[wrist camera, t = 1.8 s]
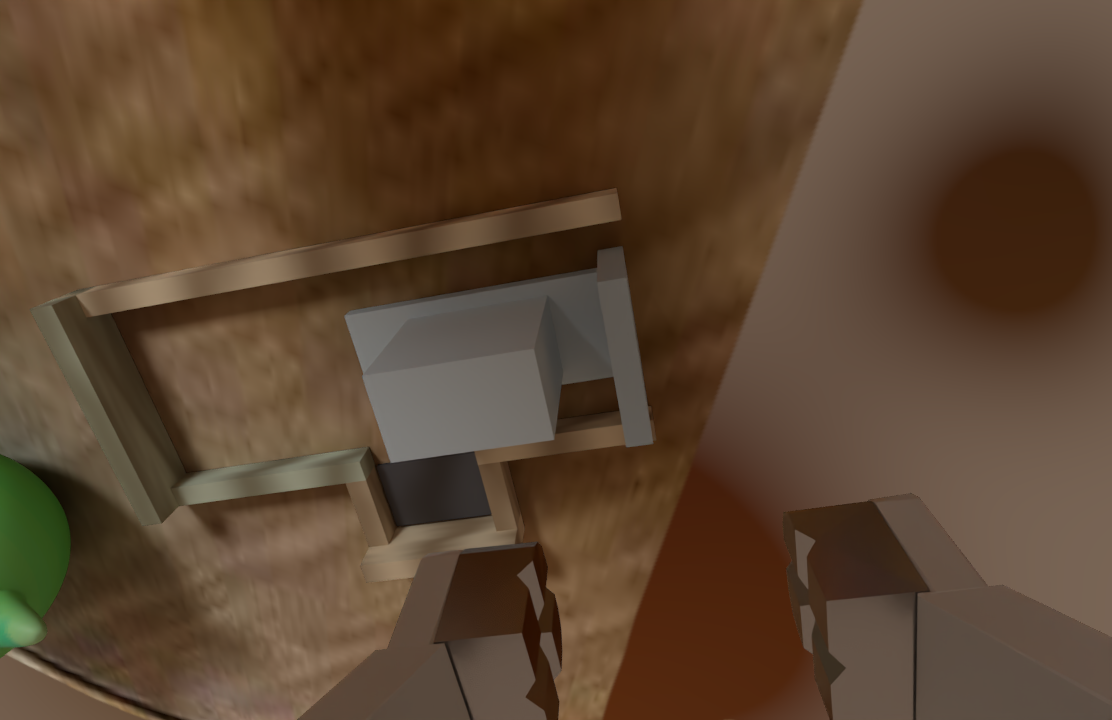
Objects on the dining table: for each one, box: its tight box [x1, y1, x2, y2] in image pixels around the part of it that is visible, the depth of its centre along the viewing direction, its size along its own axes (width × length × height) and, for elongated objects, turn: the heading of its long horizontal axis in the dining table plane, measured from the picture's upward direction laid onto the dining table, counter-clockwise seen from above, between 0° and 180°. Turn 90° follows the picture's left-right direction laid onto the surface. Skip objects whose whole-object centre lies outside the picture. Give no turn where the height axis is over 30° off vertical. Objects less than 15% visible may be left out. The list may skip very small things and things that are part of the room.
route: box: [30, 188, 656, 583], centre depth 44 cm, size 36×23×4 cm, turn 101°
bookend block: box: [344, 246, 653, 463], centre depth 39 cm, size 18×10×10 cm, turn 101°
